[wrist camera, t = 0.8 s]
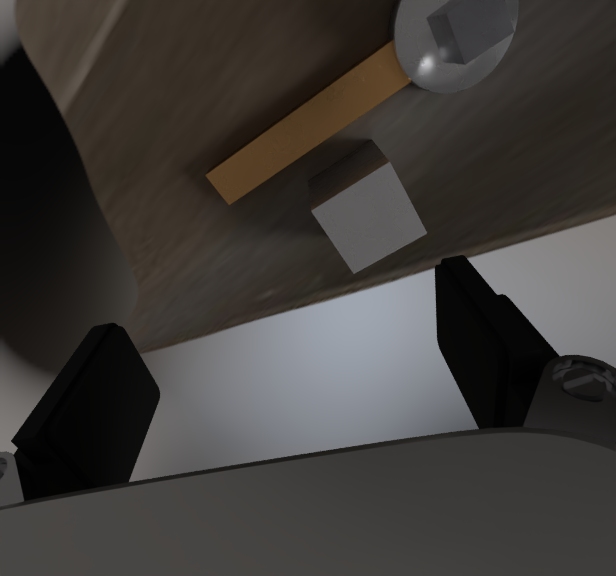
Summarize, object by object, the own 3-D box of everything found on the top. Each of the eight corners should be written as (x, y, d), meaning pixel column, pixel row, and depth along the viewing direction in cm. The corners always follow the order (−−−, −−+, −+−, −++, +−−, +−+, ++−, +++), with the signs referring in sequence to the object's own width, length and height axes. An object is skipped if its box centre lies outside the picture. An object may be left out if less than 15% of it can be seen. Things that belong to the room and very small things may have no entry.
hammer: (478, -78, 25) (530, -113, 19) (515, 46, 28) (568, 47, 23) (189, 143, 31) (166, 164, 26) (249, 220, 35) (241, 253, 29)
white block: (371, 139, 31) (389, 161, 26) (404, 200, 34) (427, 233, 28) (308, 181, 33) (310, 210, 27) (344, 235, 36) (353, 273, 30)
